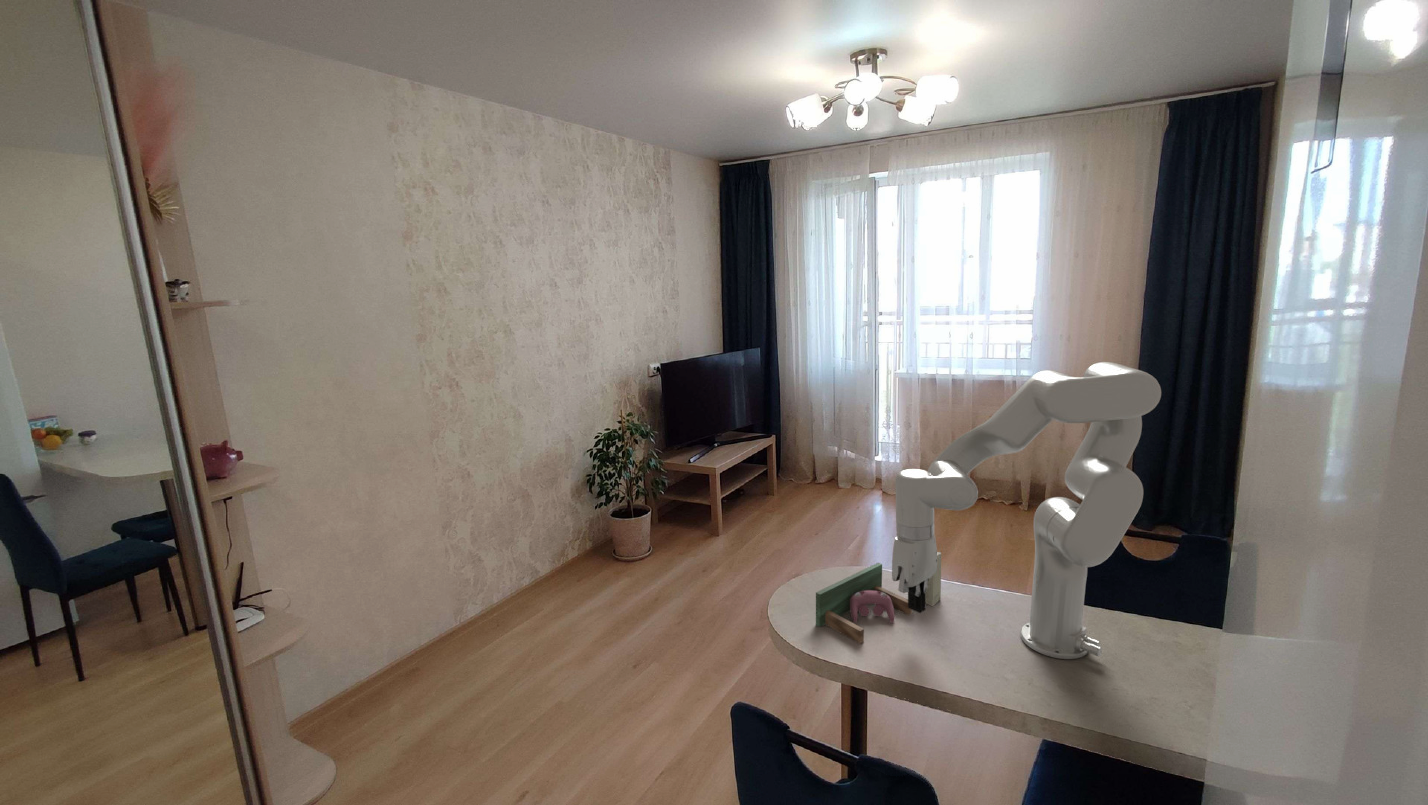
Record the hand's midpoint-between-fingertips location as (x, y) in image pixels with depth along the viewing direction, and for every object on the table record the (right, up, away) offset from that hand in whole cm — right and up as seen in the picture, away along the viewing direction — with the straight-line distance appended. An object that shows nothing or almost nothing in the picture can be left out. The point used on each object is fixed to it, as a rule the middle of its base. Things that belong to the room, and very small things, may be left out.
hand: (916, 609), depth 133 cm
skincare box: (+8, -4, +18) cm, 20 cm away
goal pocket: (-8, -6, +10) cm, 14 cm away
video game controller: (-7, -6, +11) cm, 14 cm away
